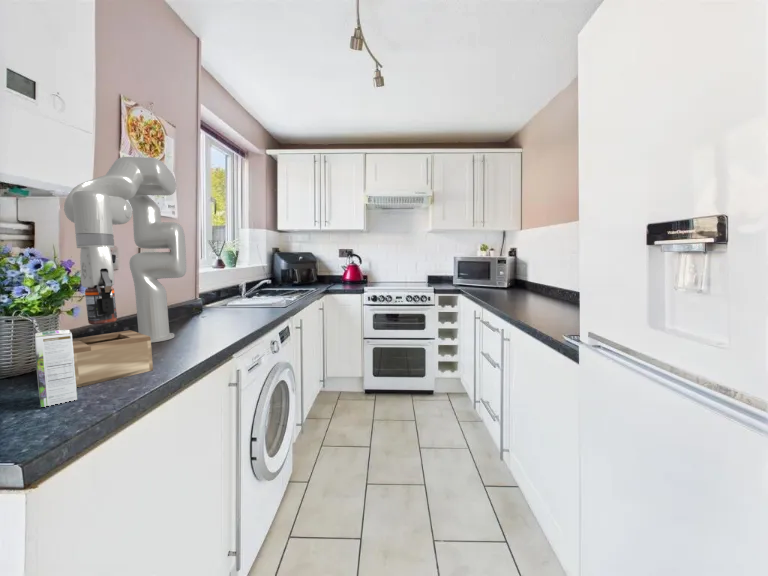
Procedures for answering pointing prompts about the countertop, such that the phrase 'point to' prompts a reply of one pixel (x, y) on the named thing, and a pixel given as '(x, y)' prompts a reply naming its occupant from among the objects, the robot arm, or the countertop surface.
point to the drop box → (111, 356)
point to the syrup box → (55, 367)
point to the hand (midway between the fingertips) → (102, 312)
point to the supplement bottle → (92, 308)
